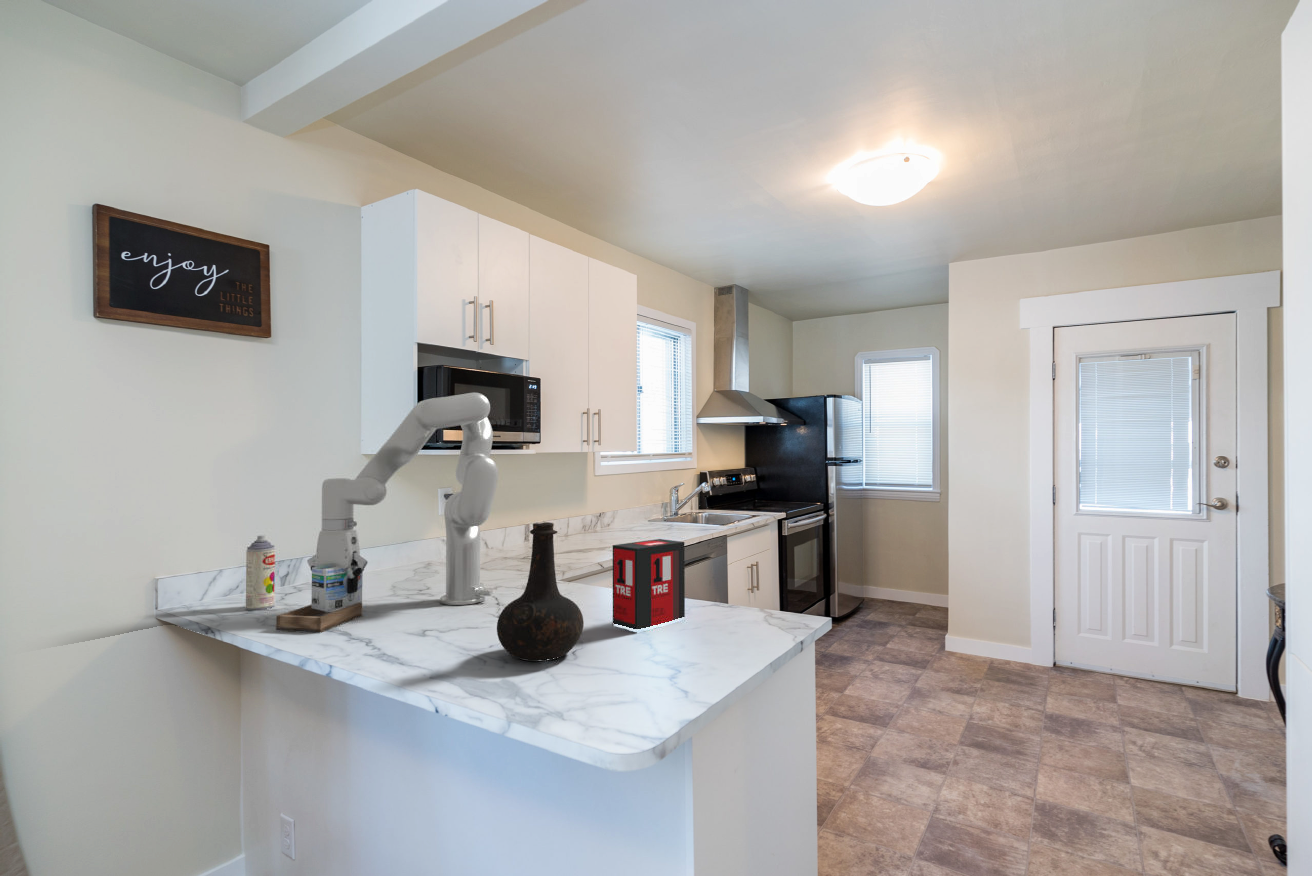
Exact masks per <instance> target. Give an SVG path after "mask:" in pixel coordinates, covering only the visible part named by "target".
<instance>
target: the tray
mask: <svg viewBox="0 0 1312 876" xmlns="http://www.w3.org/2000/svg"><path fill="white" fill-rule="evenodd" d="M275 617H276V619H275V620H276V621H275V623H276V625H275V629H276V630H282V632H296V631H306V632H305V633H316V632H321V633H323V632H322V631H324V632H326V631H328V630H327V629H329V630H331V629H333V628H332V627H334V628H336V627H338V626H337V625H339V626H341V625H343V624H342V623H344V624H346V623H349V622H351V621H353V619H354V620H355V618H356V619H358V617H359V618H361V617H363V602H362V603H356V604H354V605H351V606H348V607H344V608H340V609H336V610H333V611H321V610H317V609H312V608H311V604H308V605H306V606H302V607H298V608H297V609H293V610H290V611H288V612H285V613H284V612H283V613H281V614H279V615H276V616H275ZM350 620H351V621H350ZM348 621H349V622H348ZM345 622H346V623H345ZM340 624H341V625H340ZM335 626H336V627H335ZM330 628H331V629H330ZM325 630H326V631H325Z"/></svg>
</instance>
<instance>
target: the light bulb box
mask: <svg viewBox="0 0 1312 876" xmlns="http://www.w3.org/2000/svg"><path fill="white" fill-rule="evenodd" d="M355 566H356V567H357V568H358V566H357V565H355ZM351 570H352V569H351ZM363 572H364V571H363ZM363 572H362V573H361V574H360V576H358V588H357V592H354V593H351V594H348V593H347V579H348V578H350V577H349V575H348V574H347V572H346V570H342V569H341V568H340V567H326V566H318V567H312V571H311V601H310V602H311V604H310V605H311V608H312V609H317V610H321V611H325V612H331V611H336V610H340V609H343V608H345V607H348V606H351V605H354V604H356V603H362V604H363Z"/></svg>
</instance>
